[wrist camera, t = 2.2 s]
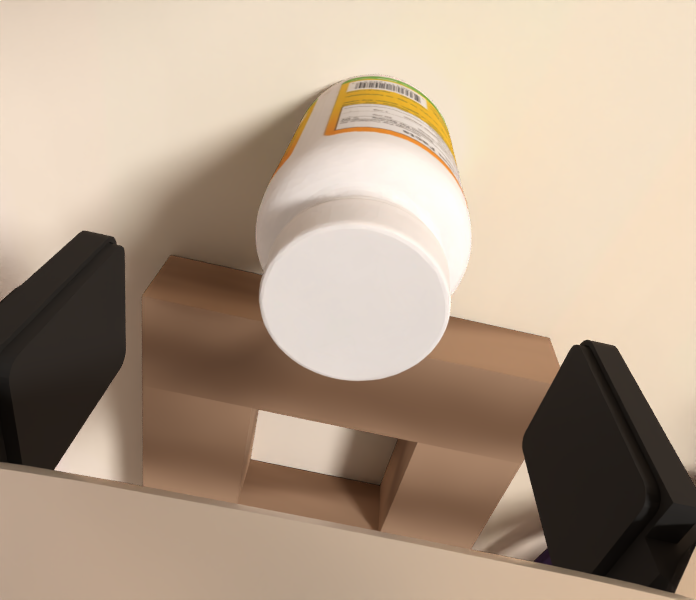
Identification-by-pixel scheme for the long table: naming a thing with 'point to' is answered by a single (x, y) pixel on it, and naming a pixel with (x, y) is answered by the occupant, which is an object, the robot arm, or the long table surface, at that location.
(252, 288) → the socket block
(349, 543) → the robot arm
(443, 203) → the supplement bottle
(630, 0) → the long table surface
